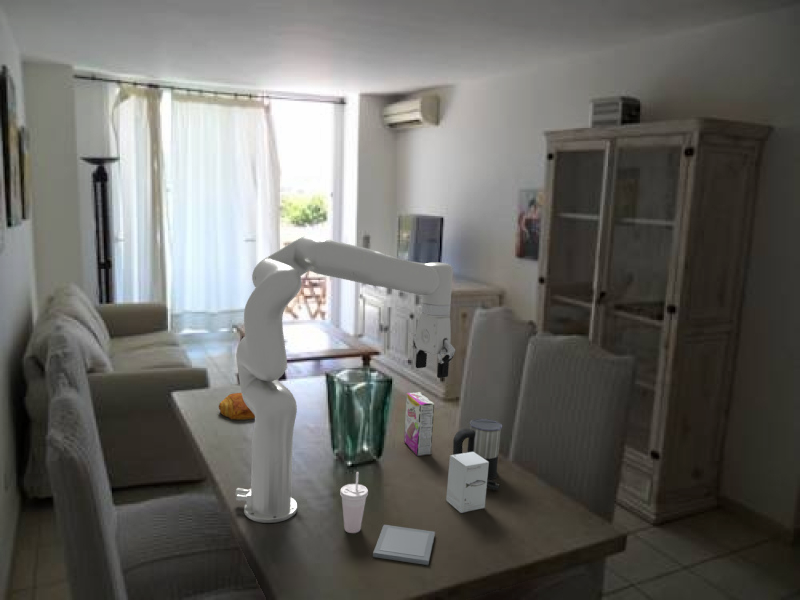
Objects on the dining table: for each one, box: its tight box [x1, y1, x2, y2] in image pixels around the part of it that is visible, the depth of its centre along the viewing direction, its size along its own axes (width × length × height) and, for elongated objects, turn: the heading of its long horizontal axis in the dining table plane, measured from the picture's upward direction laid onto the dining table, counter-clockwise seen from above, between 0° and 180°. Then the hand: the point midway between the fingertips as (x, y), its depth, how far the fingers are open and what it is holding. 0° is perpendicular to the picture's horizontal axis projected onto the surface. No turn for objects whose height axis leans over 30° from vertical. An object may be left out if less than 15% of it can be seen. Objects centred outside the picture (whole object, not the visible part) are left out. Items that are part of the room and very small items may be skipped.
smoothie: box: [339, 471, 369, 534], centre depth 146 cm, size 6×6×14 cm
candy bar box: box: [403, 391, 435, 457], centre depth 194 cm, size 11×5×16 cm, turn 22°
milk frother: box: [452, 418, 503, 492], centre depth 176 cm, size 14×16×15 cm
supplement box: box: [445, 452, 489, 514], centre depth 161 cm, size 7×7×13 cm
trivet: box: [372, 524, 436, 566], centre depth 141 cm, size 12×12×1 cm
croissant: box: [218, 392, 255, 421], centre depth 216 cm, size 14×16×8 cm
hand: (431, 372), depth 170 cm, fingers open, 9 cm apart
